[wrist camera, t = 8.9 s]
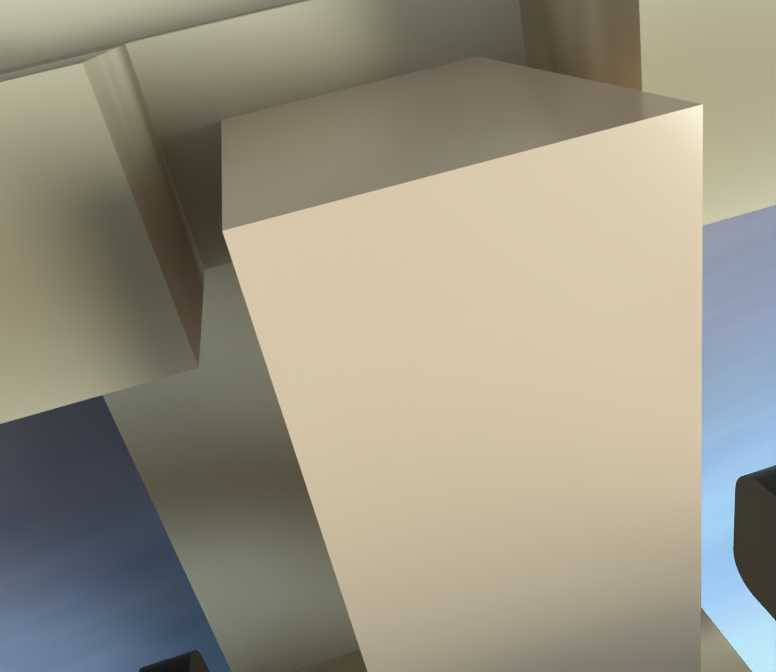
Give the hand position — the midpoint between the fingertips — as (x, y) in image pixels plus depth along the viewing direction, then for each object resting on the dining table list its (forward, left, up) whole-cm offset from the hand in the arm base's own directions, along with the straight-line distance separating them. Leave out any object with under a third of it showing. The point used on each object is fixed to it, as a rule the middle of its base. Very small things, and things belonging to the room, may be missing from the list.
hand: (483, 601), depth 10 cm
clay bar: (0, 0, -3) cm, 3 cm away
